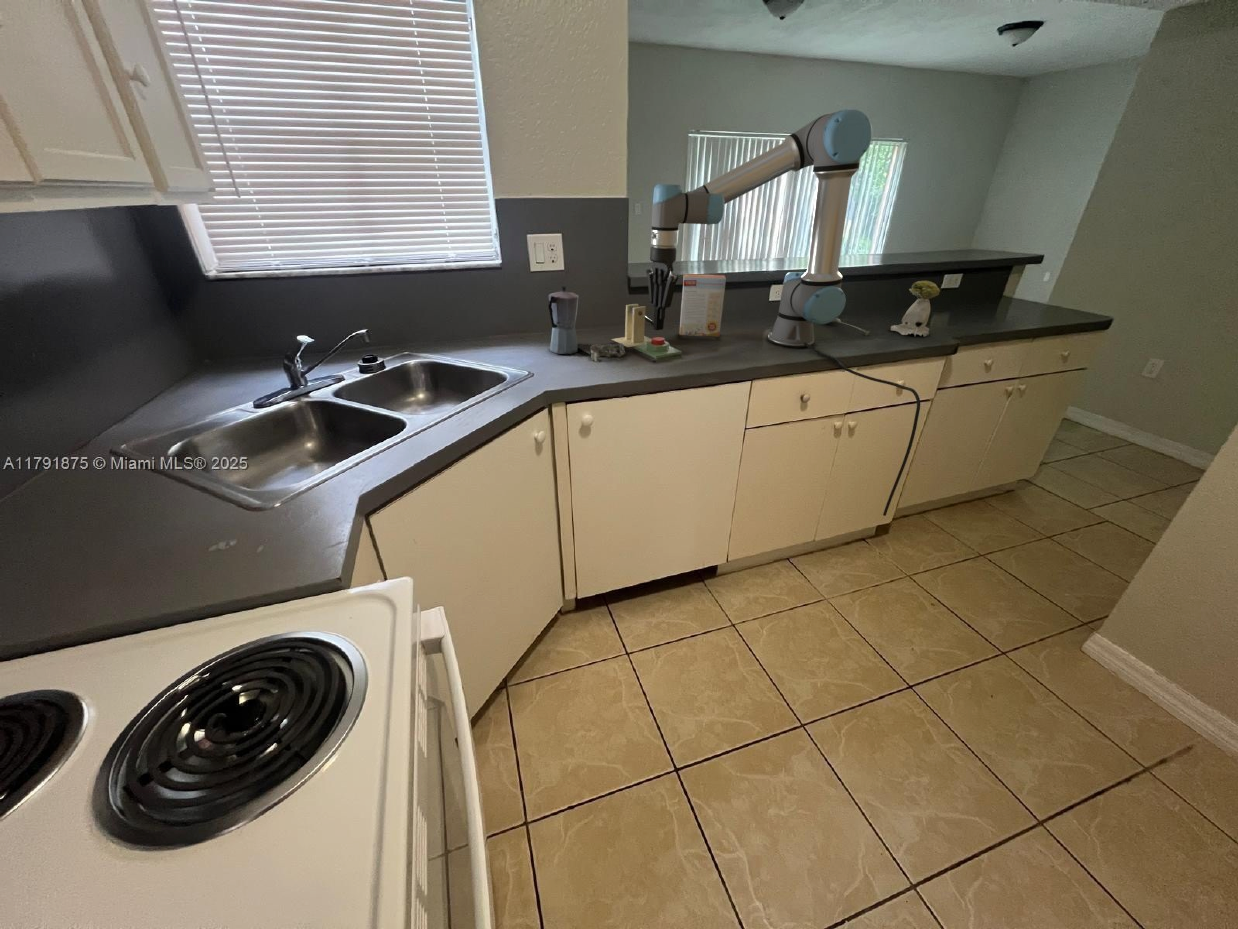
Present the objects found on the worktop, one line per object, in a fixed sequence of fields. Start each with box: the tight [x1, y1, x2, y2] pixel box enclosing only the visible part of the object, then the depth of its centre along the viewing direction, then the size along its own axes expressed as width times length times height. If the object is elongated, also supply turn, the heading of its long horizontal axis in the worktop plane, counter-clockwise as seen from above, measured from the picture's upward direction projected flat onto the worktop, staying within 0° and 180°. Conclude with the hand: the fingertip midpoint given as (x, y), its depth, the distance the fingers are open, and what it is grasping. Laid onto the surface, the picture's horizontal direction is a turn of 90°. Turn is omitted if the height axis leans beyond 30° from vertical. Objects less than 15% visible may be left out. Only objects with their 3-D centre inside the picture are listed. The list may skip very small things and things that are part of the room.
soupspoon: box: [832, 317, 870, 336], centre depth 187 cm, size 22×3×7 cm
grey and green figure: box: [890, 280, 941, 337], centre depth 179 cm, size 12×13×18 cm
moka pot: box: [547, 285, 580, 355], centre depth 151 cm, size 10×15×20 cm, turn 161°
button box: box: [633, 340, 683, 364], centre depth 154 cm, size 12×10×4 cm
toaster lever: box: [629, 306, 654, 328], centre depth 161 cm, size 12×5×2 cm
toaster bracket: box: [611, 303, 652, 348], centre depth 161 cm, size 12×10×13 cm
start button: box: [651, 336, 666, 345], centre depth 152 cm, size 4×4×2 cm
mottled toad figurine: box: [589, 343, 626, 362], centre depth 151 cm, size 11×8×4 cm
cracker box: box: [679, 273, 727, 338], centre depth 168 cm, size 14×6×21 cm, turn 84°
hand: (658, 329), depth 150 cm, fingers closed
